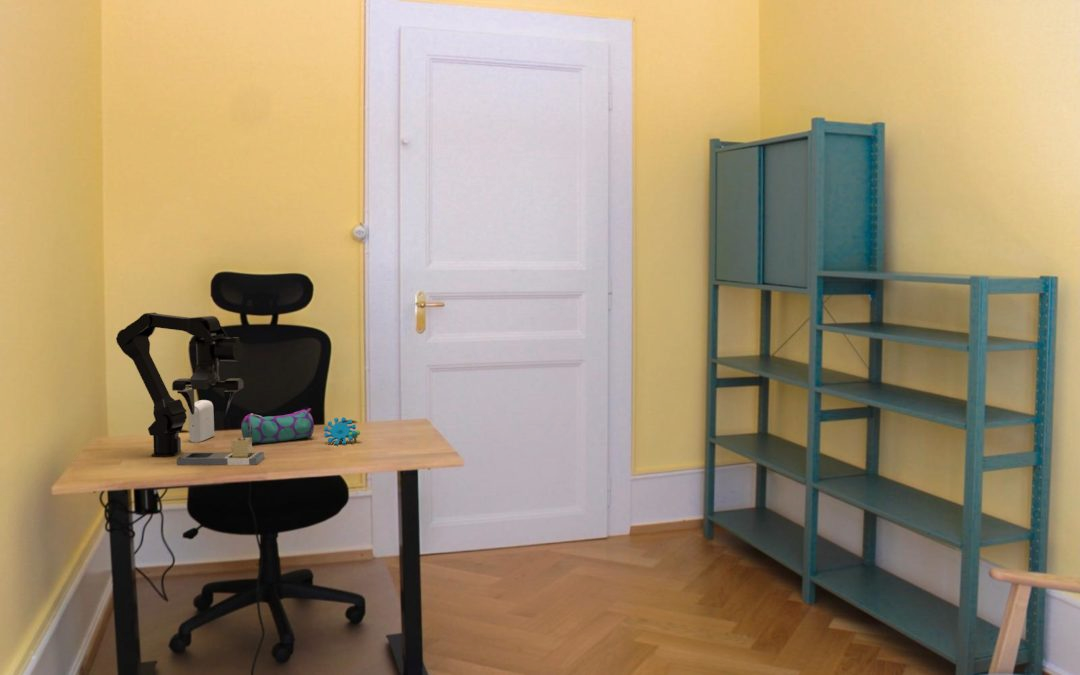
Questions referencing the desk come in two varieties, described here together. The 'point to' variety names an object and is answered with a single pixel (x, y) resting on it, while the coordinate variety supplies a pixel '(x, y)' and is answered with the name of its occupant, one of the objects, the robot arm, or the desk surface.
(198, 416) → the photo printer
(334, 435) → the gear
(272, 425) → the pencil case
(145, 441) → the desk surface
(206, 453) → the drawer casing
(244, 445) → the wooden pull-out drawer
